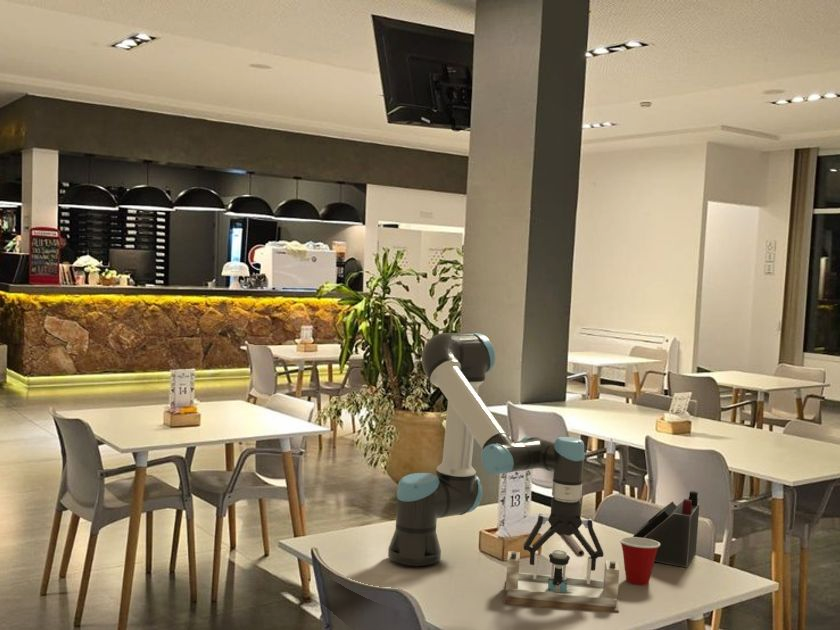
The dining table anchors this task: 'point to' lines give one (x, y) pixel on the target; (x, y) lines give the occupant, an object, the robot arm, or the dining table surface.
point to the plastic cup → (638, 558)
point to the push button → (558, 571)
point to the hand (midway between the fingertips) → (561, 579)
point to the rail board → (580, 598)
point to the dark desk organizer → (674, 531)
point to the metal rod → (574, 544)
